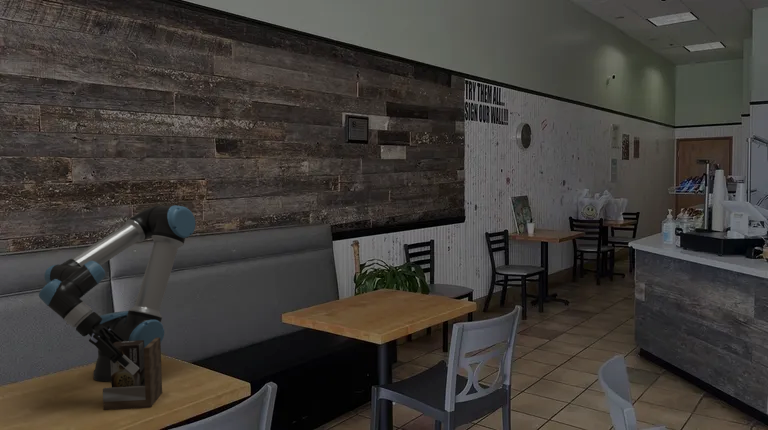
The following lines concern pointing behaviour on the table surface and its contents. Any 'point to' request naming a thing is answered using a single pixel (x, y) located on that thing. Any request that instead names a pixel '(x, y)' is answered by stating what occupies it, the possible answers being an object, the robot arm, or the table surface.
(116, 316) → the robot arm
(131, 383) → the coffee box
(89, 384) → the table surface
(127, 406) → the walnut shelf slot
